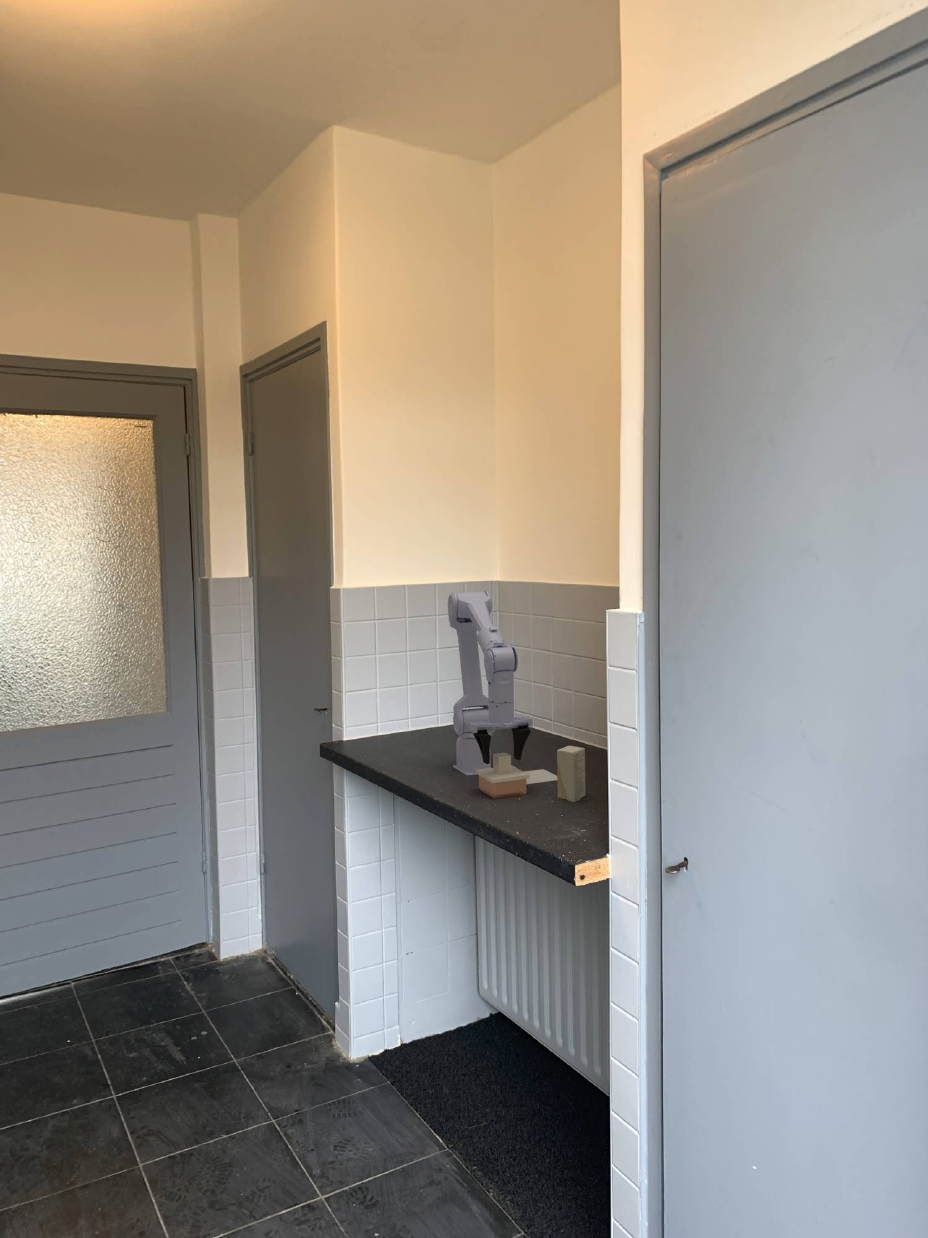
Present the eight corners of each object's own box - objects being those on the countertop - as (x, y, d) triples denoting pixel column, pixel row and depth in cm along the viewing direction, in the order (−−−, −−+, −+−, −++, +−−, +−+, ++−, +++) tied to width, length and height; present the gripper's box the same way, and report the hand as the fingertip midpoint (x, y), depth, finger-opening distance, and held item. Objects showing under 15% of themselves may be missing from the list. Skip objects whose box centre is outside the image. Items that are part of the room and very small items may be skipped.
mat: (506, 775, 216) (506, 774, 216) (543, 770, 220) (543, 769, 220) (524, 786, 207) (524, 784, 207) (563, 780, 211) (563, 779, 211)
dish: (479, 791, 204) (478, 773, 203) (511, 786, 207) (510, 769, 206) (493, 800, 196) (493, 782, 196) (526, 795, 199) (526, 778, 199)
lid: (475, 773, 204) (475, 752, 203) (511, 768, 207) (511, 748, 207) (492, 783, 195) (491, 761, 195) (529, 778, 199) (529, 757, 198)
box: (569, 793, 200) (569, 745, 199) (586, 797, 198) (586, 747, 197) (556, 799, 196) (556, 749, 195) (573, 803, 194) (573, 752, 193)
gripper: (478, 707, 193) (479, 769, 195) (538, 701, 199) (539, 761, 200) (465, 701, 200) (466, 761, 201) (524, 696, 205) (525, 754, 207)
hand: (502, 761), depth 201 cm, fingers open, 7 cm apart
